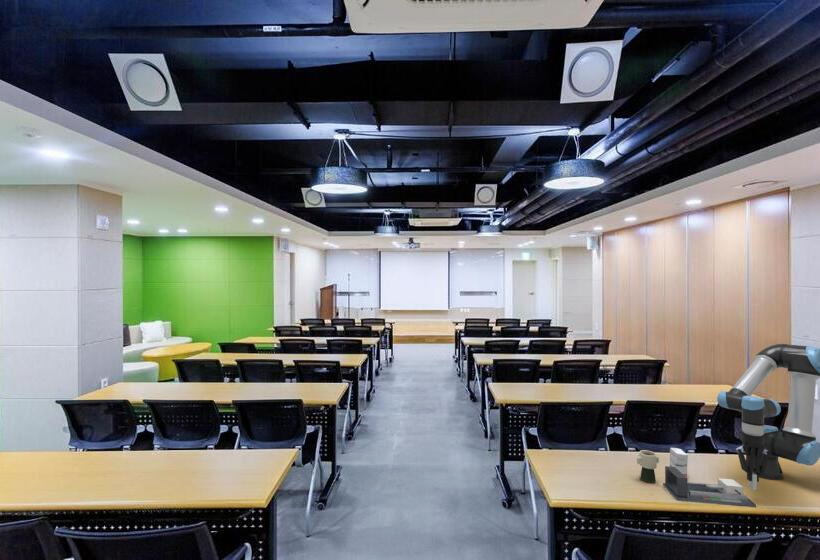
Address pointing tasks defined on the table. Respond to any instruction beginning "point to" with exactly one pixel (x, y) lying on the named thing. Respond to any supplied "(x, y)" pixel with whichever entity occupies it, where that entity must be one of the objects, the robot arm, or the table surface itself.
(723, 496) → the gauge bed
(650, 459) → the character mug
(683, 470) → the ink box
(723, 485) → the gauge carriage
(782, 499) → the table surface
